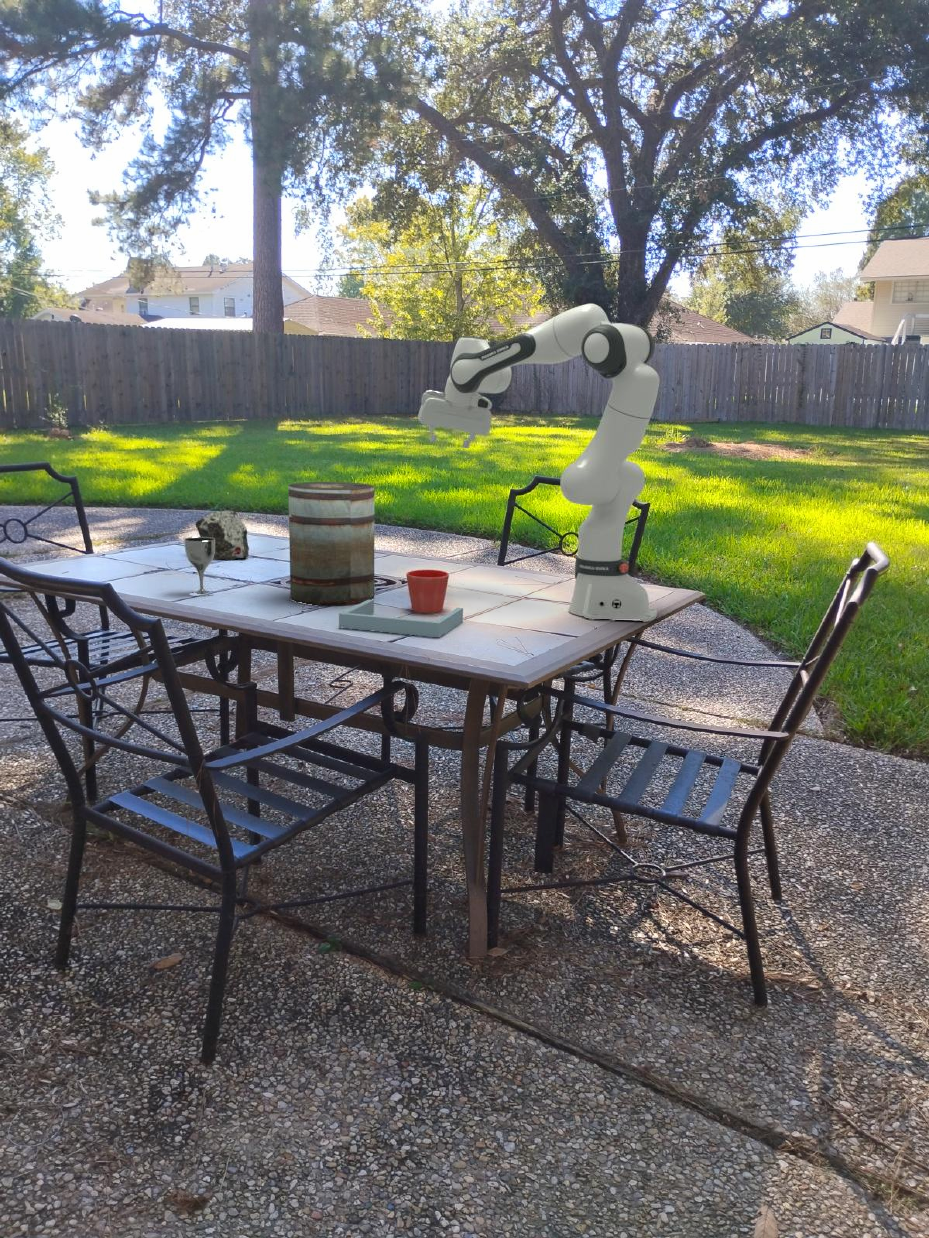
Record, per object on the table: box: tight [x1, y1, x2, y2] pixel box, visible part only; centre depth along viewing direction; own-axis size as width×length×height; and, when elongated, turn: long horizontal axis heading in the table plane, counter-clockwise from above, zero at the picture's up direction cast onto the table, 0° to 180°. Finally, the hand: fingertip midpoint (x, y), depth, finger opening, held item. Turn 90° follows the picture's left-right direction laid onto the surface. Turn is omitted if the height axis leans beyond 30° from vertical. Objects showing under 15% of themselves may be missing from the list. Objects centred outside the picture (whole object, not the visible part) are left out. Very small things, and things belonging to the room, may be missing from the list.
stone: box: [194, 510, 250, 561], centre depth 327 cm, size 19×18×15 cm
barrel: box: [288, 481, 375, 607], centre depth 266 cm, size 22×22×30 cm
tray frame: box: [338, 599, 464, 638], centre depth 239 cm, size 25×18×4 cm
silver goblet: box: [183, 536, 215, 594], centre depth 268 cm, size 8×8×15 cm
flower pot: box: [405, 569, 450, 614], centre depth 255 cm, size 11×11×10 cm
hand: (449, 444), depth 278 cm, fingers open, 8 cm apart
